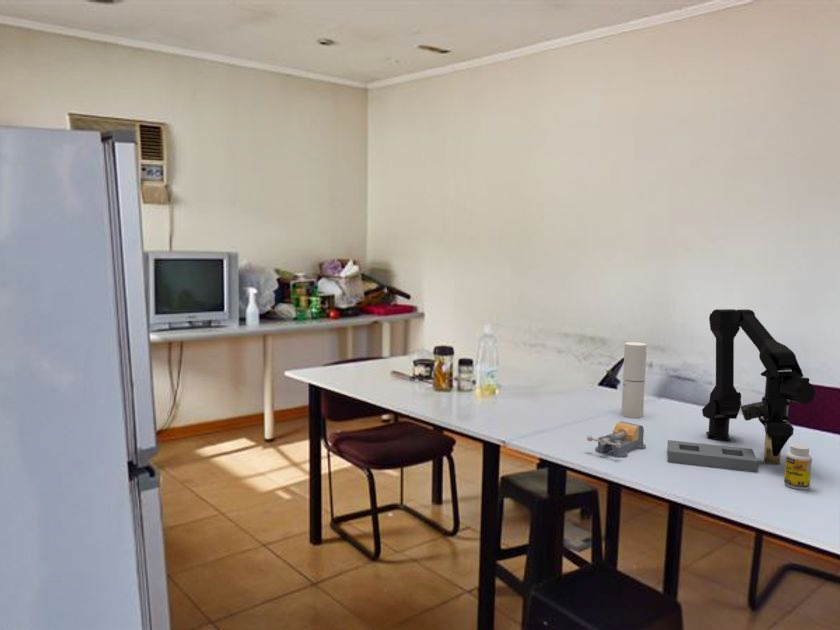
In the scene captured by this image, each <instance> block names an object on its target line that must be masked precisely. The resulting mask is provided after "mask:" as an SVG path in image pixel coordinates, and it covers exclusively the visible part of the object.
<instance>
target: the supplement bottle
mask: <svg viewBox="0 0 840 630" xmlns="http://www.w3.org/2000/svg"><path fill="white" fill-rule="evenodd" d="M789 450H790V451H788V452H786V454H785V455H786V457H785V464H784V465H785V468H784V478H783V479H784V480H783V483H784V485H785V486H787V487H789V488H790V489H796V490H808V489H809V488H810V485H811V483H810V482H811V475H812V474H811V473H812V463H813V462H812V461H813V457H812V455H810V447H809V446H807V445H804V444H800V443H799V444H797V443H792V444H790V449H789Z"/></svg>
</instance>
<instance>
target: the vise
mask: <svg viewBox="0 0 840 630" xmlns="http://www.w3.org/2000/svg"><path fill="white" fill-rule="evenodd" d="M644 431H645V429H644V426H643V425H641V424H637V423H631V422H627V421H618V422H616V424H615V426H614V429H613V430H612V433H609V434H607V435H605V436H604V435H602V436H599V437H598V438H594V437H593V436H592V435H588V436H587V437H586V439H587V441H588V442H592V441H595V442H597V446H596V447H595V449H594V451H595V452H597V453H600V454H604V453H606V452H609V451H611V450H612V456H613V457H615V458H616V457H617V458H620V459H621V458H622V459H623V458H624V459H625V458H627V457H628V456H629V455H628V453H630V452H632V451H634V450H645V449H646V448H647V444H645V443H644Z"/></svg>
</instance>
